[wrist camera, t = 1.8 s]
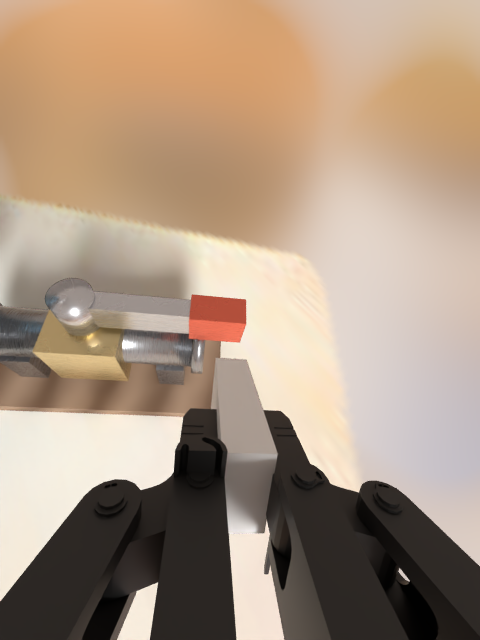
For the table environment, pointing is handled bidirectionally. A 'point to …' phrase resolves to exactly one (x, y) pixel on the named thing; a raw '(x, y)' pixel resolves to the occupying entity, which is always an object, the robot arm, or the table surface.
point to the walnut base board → (112, 391)
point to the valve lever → (145, 312)
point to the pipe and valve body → (91, 349)
